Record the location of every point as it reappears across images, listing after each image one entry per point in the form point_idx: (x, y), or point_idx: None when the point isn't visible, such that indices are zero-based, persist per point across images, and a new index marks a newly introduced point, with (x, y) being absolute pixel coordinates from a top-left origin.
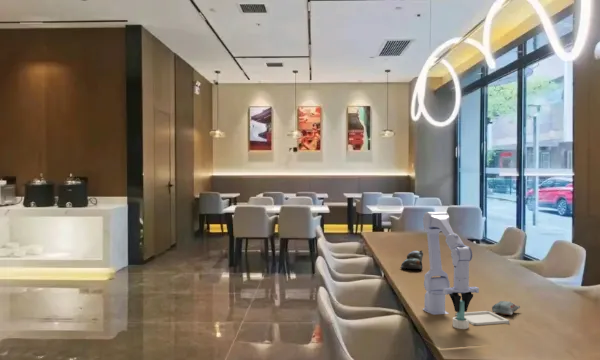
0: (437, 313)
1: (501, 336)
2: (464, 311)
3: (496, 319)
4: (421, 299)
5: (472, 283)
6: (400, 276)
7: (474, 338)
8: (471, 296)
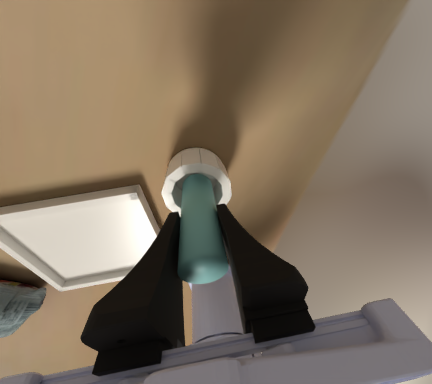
0: None
1: (6, 29)
2: (182, 213)
3: (36, 242)
4: None
5: None
6: None
7: (187, 11)
8: (111, 306)
